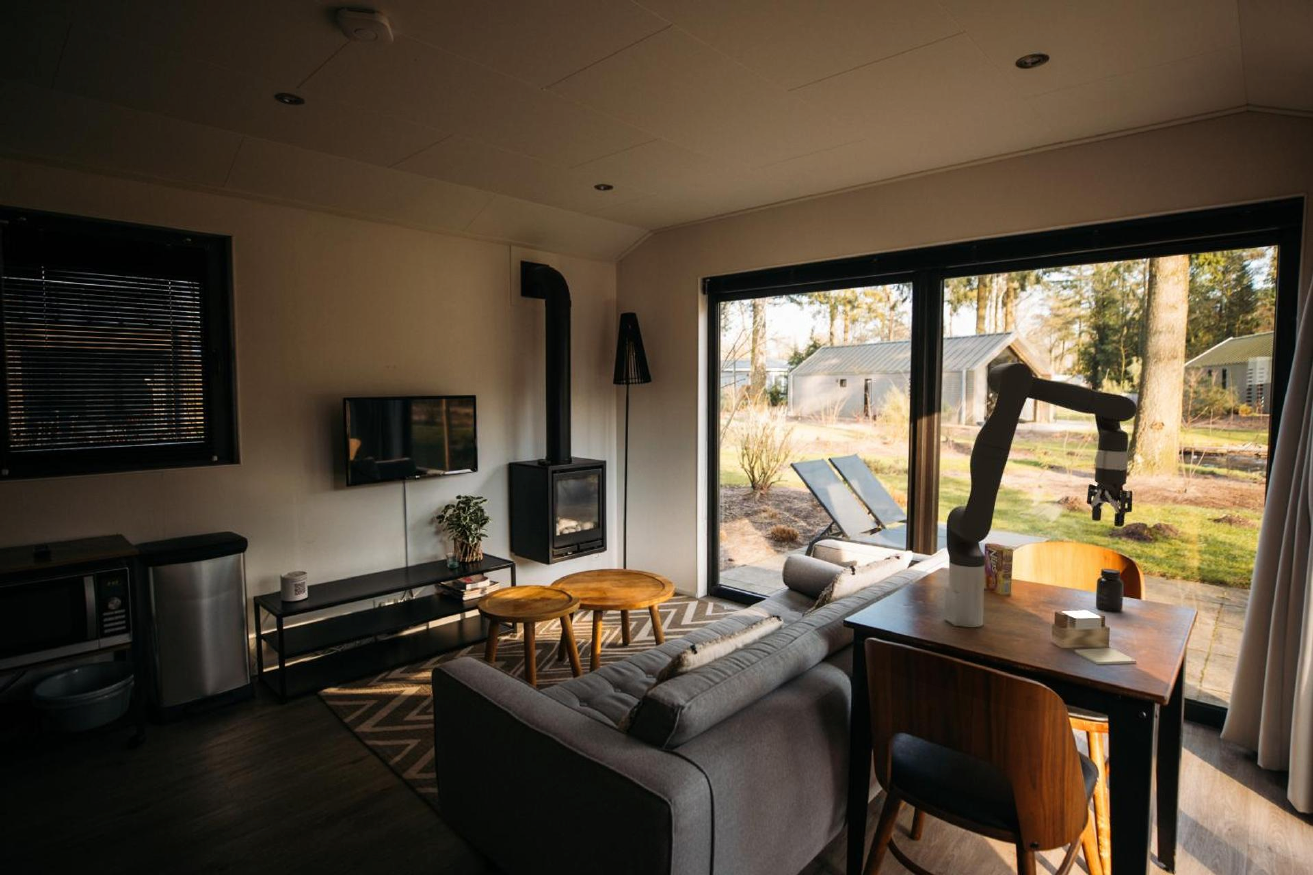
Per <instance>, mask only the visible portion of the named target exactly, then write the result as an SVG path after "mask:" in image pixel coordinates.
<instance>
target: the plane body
mask: <svg viewBox="0 0 1313 875" xmlns="http://www.w3.org/2000/svg"><path fill="white" fill-rule="evenodd" d="M1094 614H1095V615H1097V616H1099V617H1101V629H1079V630H1075V629H1073V628H1071V627H1069V626H1067V624H1068V615H1067V614H1065V613H1063V612H1062V610H1059V611H1058V610H1057V611H1054V623H1052V624H1051V643H1052V644H1054V645H1055V646H1057V647H1059V648H1061V649H1067V648H1068V649H1071V648H1072V649H1073V648H1074V649H1075V648H1094V647H1095V648H1096V647H1097V648H1098V647H1099V648H1100V647H1102V648H1103V647H1110V632H1111V631H1110V630H1111V628H1110V626H1108V625H1106V615H1104V614H1099V613H1098V614H1097V613H1094Z"/></svg>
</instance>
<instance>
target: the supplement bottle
mask: <svg viewBox="0 0 1313 875" xmlns="http://www.w3.org/2000/svg"><path fill="white" fill-rule="evenodd" d="M1120 578H1121V571H1120V570H1117V569H1115V568H1101V570H1100V577H1098V578H1097V579H1096V592H1095V607H1096V608H1097V609H1098V610H1101V611H1103V610H1104V611H1105V612H1109V613H1120V612H1122V611H1123V604H1124V582H1123V581H1122V580H1121V579H1120Z"/></svg>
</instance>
